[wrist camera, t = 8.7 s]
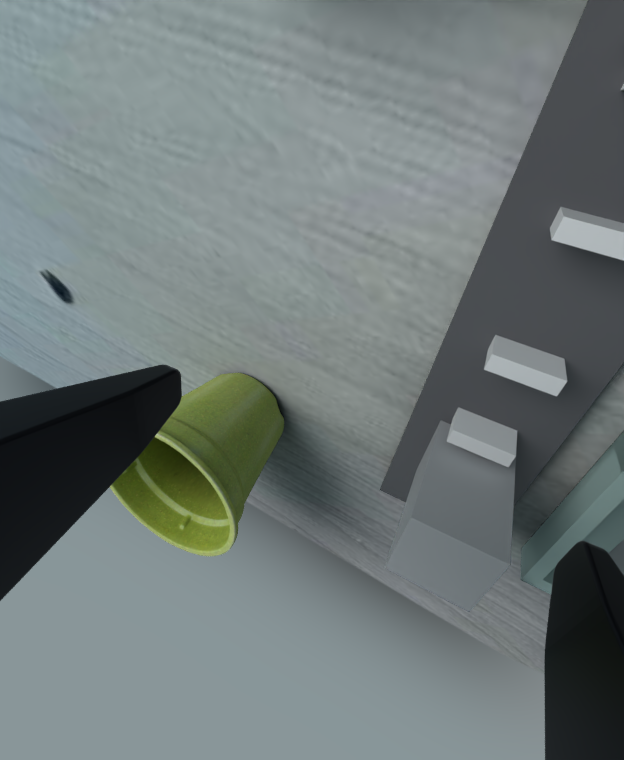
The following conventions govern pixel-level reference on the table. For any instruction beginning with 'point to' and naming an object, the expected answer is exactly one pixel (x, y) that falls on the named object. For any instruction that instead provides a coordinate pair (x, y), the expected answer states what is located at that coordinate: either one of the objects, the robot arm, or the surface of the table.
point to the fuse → (618, 555)
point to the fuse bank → (522, 332)
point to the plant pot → (204, 464)
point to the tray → (580, 519)
